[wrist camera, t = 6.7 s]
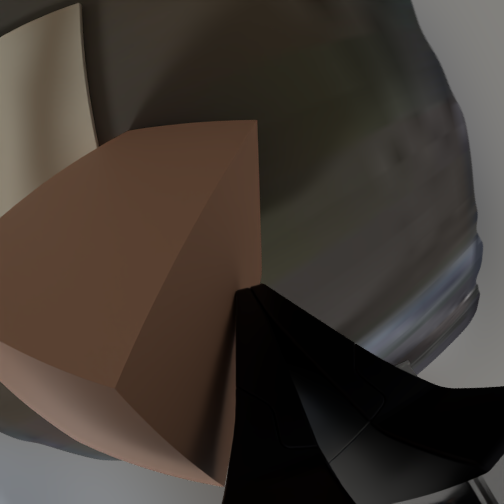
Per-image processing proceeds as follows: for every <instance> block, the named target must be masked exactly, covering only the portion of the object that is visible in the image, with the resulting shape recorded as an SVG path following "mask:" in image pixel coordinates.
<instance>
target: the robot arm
mask: <svg viewBox="0 0 504 504" xmlns="http://www.w3.org/2000/svg"><path fill="white" fill-rule="evenodd" d="M222 504H504V386H501V387H488V388H487V387H486V388H458V389H457V388H455V389H454V388H445V387H441V386H438V385H435V384H432V383H430V382H428V381H426V380H423V379H421V378H419V377H417V376H415V375H413V374H410V373H408V372H406V371H404V370H402V369H400V368H398V367H396V366H394V365H392V364H390V363H388V362H386V361H384V360H382V359H380V358H379V357H377V356H375V355H374V354H372V353H370V352H369V351H367V350H365V349H364V348H362V347H361V346H359V345H357V344H354V342H352V341H351V340H349V339H348V338H346V337H345V336H343V335H342V334H340V333H338V332H337V331H335V330H334V329H332V328H331V327H329V326H328V325H326V324H324V323H323V322H321V321H320V320H318V319H317V318H315V317H314V316H312V315H311V314H309V313H307V312H306V311H304V310H303V309H301V308H300V307H298V306H297V305H295V304H294V303H292V302H291V301H289V300H288V299H286V298H285V297H283V296H282V295H280V294H279V293H277V292H276V291H274V290H272V289H271V288H269V287H268V286H266V285H265V284H258V285H254V286H251V287H250V288H248V287H247V288H243V289H239V290H237V291H236V405H235V424H234V433H233V441H232V447H231V454H230V461H229V467H228V474H227V480H226V486H225V491H224V496H223V501H222Z"/></svg>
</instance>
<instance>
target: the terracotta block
mask: <svg viewBox="0 0 504 504" xmlns="http://www.w3.org/2000/svg"><path fill="white" fill-rule="evenodd" d="M261 274H262V256H261V219H260V187H259V156H258V128H257V120H230V121H211V122H196V123H185V124H174V125H165V126H157V127H149V128H142V129H135V130H129V131H127V132H125V133H123V134H121V135H119V136H117V137H115V138H114V139H112V140H110V141H108V142H106V143H105V144H103V145H101V146H100V147H98V148H96V149H94V150H93V151H91V152H90V153H88V154H86V155H85V156H83V157H81V158H80V159H78V160H77V161H75V162H74V163H72V164H71V165H69V166H67V167H66V168H64V169H63V170H62V171H60V172H59V173H57V174H56V175H54V176H53V177H51V178H50V179H49V180H47V181H46V182H44V183H43V184H42V185H40V186H39V187H38V188H36V189H35V190H34V191H32V192H31V193H30V194H28V195H27V196H26V197H25V198H23V199H22V200H21V201H20V202H18V203H17V204H16V205H15V206H14V207H12V208H11V209H10V210H9V211H8V212H6V213H5V214H4V215H3V216H2V217H1V218H0V382H1V383H2V384H4V385H5V386H6V387H7V388H8V389H9V390H10V391H11V392H12V393H13V394H15V395H16V396H17V397H18V398H19V399H20V400H22V401H23V402H24V403H25V404H26V405H28V406H29V407H30V408H31V409H33V410H34V411H35V412H36V413H38V414H39V415H40V416H42V417H43V418H44V419H46V420H47V421H48V422H50V423H51V424H52V425H54V426H55V427H57V428H58V429H60V430H61V431H62V432H64V433H65V434H67V435H68V436H70V437H71V438H73V439H75V440H76V441H78V442H80V443H82V444H85V445H87V446H89V447H91V448H93V449H96V450H98V451H100V452H103V453H105V454H107V455H110V456H112V457H115V458H118V459H120V460H123V461H126V462H129V463H131V464H134V465H137V466H140V467H143V468H146V469H149V470H153V471H156V472H160V473H163V474H167V475H170V476H174V477H178V478H182V479H186V480H191V481H195V482H200V483H205V484H210V485H216V486H221V487H224V485H225V481H226V475H227V470H228V465H229V459H230V454H231V447H232V441H233V433H234V424H235V405H236V291H237V290H239V289H243V288H247V287H248V288H250V287H251V286H254V285H258V284H260V280H261Z"/></svg>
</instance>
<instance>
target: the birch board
mask: <svg viewBox="0 0 504 504" xmlns="http://www.w3.org/2000/svg"><path fill="white" fill-rule="evenodd" d="M98 147H99V143H98V138H97V133H96V128H95V123H94V118H93V112H92V106H91V100H90V93H89V87H88V79H87V71H86V62H85V52H84V39H83V21H82V5H81V4H80V3H77V4H74V5H71V6H68V7H65V8H63V9H60V10H57V11H55V12H52V13H50V14H47V15H45V16H43V17H40V18H38V19H36V20H33V21H31V22H29V23H27V24H25V25H23V26H21V27H19V28H17V29H15V30H13V31H11V32H9V33H7V34H5V35H4V36H2V37H0V218H1V217H2V216H3V215H4V214H5V213H6V212H8V211H9V210H10V209H11V208H12V207H14V206H15V205H16V204H17V203H18V202H20V201H21V200H22V199H23V198H25V197H26V196H27V195H28V194H30V193H31V192H32V191H34V190H35V189H36V188H38V187H39V186H40V185H42V184H43V183H44V182H46V181H47V180H49V179H50V178H51V177H53V176H54V175H56V174H57V173H59V172H60V171H62V170H63V169H64V168H66V167H67V166H69V165H71V164H72V163H74V162H75V161H77V160H78V159H80V158H81V157H83V156H85V155H86V154H88V153H90V152H91V151H93V150H94V149H96V148H98Z"/></svg>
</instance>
